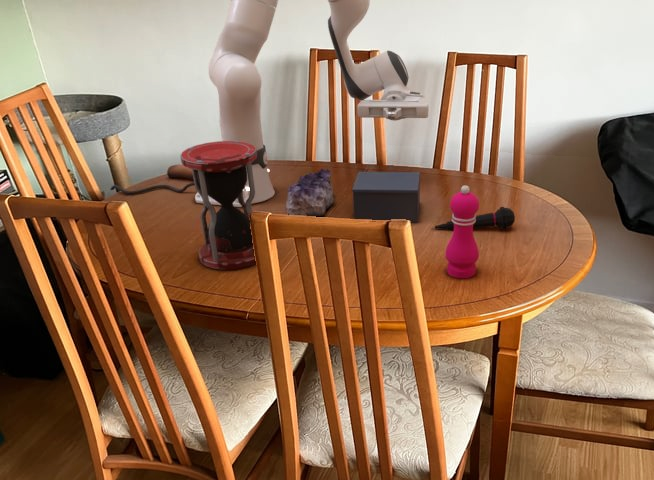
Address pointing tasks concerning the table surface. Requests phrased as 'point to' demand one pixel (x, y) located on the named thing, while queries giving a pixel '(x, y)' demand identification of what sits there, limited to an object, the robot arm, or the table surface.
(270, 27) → the robot arm
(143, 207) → the table surface
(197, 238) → the table surface
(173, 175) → the sunglasses case
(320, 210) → the geode
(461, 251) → the pepper mill
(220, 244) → the hourglass
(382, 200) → the case
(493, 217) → the microphone
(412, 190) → the lid
